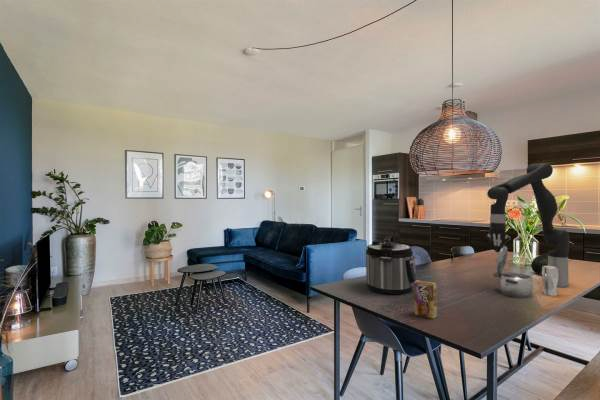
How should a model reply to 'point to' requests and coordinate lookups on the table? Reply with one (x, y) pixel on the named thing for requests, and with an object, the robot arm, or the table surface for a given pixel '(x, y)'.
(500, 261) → the lid
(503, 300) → the table surface
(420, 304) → the candy box
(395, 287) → the pressure cooker
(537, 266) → the squash
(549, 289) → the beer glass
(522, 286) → the pot
